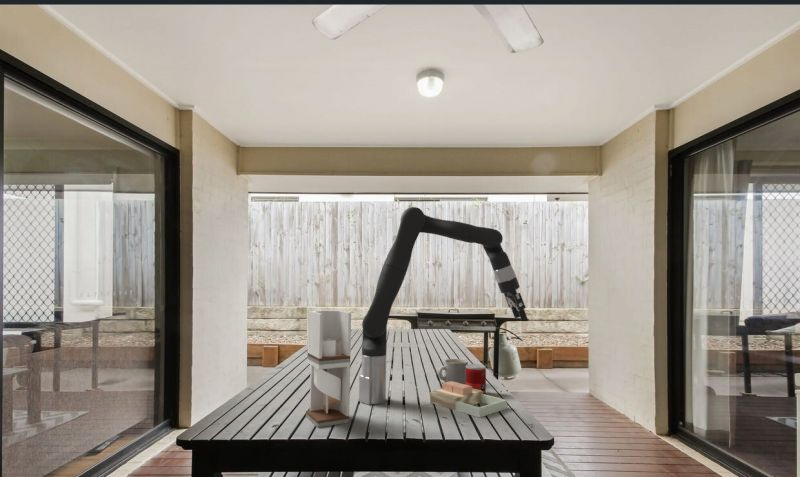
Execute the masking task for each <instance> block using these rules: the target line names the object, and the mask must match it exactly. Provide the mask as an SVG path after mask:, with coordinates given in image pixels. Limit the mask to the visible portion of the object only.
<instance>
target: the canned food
mask: <svg viewBox="0 0 800 477" xmlns="http://www.w3.org/2000/svg"><path fill="white" fill-rule="evenodd" d="M486 367H487V366H485V365H484V364H476V363H471V364H469V363H468V365H466V385H469V386H472V388H473V389H477V390H481V391H483V394H485V395H486V391H487V386H486V385H487V368H486Z"/></svg>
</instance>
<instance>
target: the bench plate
mask: <svg viewBox="0 0 800 477" xmlns="http://www.w3.org/2000/svg"><path fill="white" fill-rule="evenodd" d="M429 393H430V394H429V395H430V398H429V399H430V400H429V401H430V402H429V403H430V404H433V405H437V406H440V407H443V408H446V409H449V410H453V411H456V410H455V401H458V402H462V403H465V404H469V405H472V406H475V405H477V404H481V403H482V402H481V394H483V391H481V390H477V389H473V388H472V393H471V394H467V395H460V394H456V393H453V392H449V391H445V390H442V388H440V389H436V390H432V391H430V392H429Z"/></svg>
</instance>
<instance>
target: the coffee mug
mask: <svg viewBox="0 0 800 477" xmlns="http://www.w3.org/2000/svg"><path fill="white" fill-rule="evenodd" d="M466 365H469V362H468V360H466V359H462V358H448V359H445V360H444V365H441V366H440V367H438V371H437V374H438V378H439V379H440V380H441V381H443V382H444V383H445V382H449V381H453V382H457V383H461V384H465V385H466ZM443 371H444V376H443V375H442V373H443Z"/></svg>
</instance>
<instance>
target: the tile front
mask: <svg viewBox="0 0 800 477" xmlns="http://www.w3.org/2000/svg"><path fill="white" fill-rule="evenodd" d="M453 393H456V394H460V395H467V394H471V393H472V386H469V385H465V384H458V385H454V386H453Z"/></svg>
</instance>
